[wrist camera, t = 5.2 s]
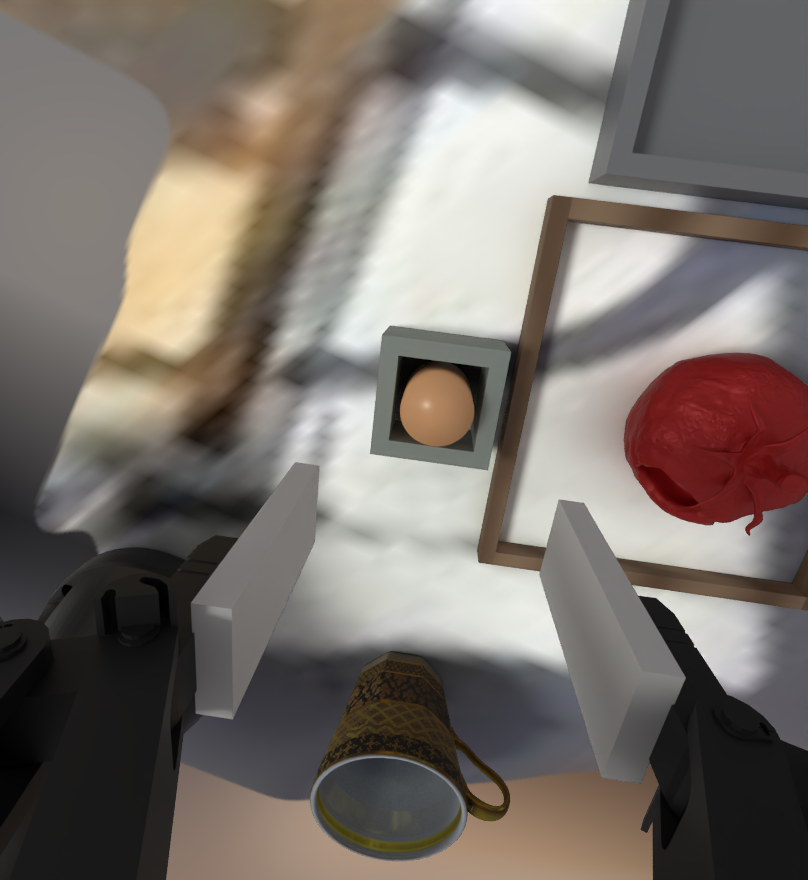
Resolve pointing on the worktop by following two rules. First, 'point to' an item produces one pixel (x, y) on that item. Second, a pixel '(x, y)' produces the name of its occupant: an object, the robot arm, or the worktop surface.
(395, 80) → the worktop surface
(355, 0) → the worktop surface
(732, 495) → the pomegranate
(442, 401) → the button
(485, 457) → the button housing
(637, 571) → the wooden flat square frame
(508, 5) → the worktop surface
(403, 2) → the worktop surface
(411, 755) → the ceramic cup
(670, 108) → the tray
